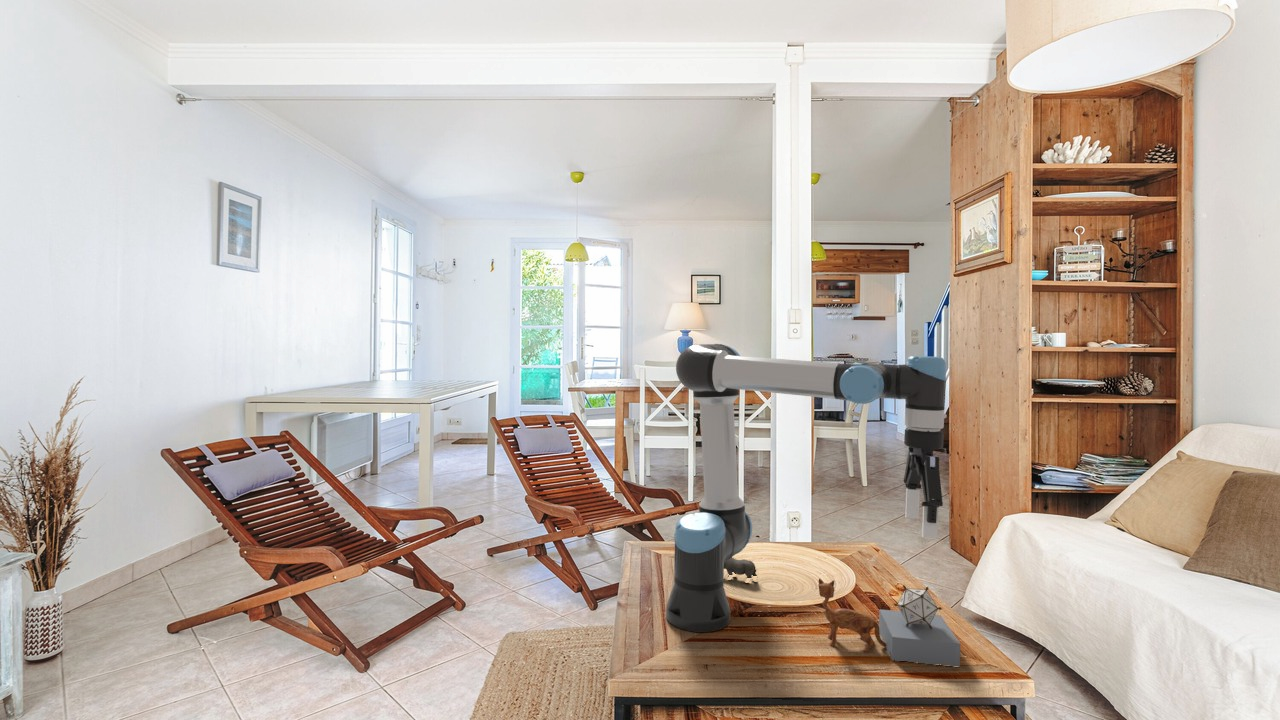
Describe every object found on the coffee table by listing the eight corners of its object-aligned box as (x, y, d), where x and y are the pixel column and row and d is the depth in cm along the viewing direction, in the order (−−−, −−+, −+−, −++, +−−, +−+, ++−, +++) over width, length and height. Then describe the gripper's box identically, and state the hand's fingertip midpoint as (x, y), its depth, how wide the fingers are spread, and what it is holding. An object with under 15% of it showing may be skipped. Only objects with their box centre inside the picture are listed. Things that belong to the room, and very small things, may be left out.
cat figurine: (898, 647, 132) (902, 585, 131) (905, 662, 125) (909, 597, 125) (813, 634, 135) (817, 574, 135) (815, 648, 129) (820, 585, 129)
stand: (891, 660, 124) (892, 636, 124) (878, 630, 137) (879, 609, 136) (959, 668, 121) (960, 643, 121) (939, 637, 134) (940, 615, 134)
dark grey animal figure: (710, 571, 170) (711, 550, 170) (758, 580, 164) (759, 559, 164) (706, 576, 166) (706, 555, 166) (754, 586, 161) (755, 564, 160)
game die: (923, 646, 127) (934, 622, 121) (884, 621, 132) (893, 597, 126) (939, 615, 132) (951, 591, 126) (901, 592, 137) (911, 567, 131)
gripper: (963, 438, 115) (959, 548, 115) (926, 421, 139) (922, 512, 140) (921, 436, 116) (917, 545, 117) (891, 420, 140) (888, 509, 141)
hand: (920, 527), depth 128 cm, fingers open, 13 cm apart
